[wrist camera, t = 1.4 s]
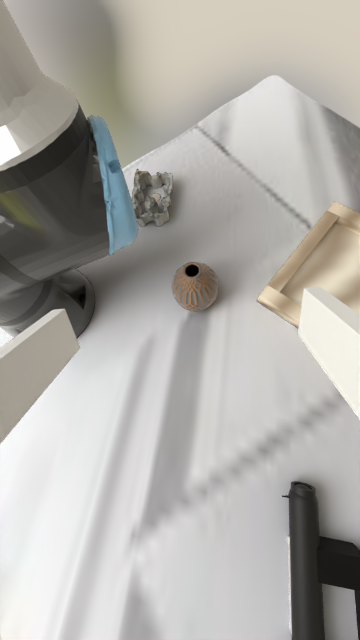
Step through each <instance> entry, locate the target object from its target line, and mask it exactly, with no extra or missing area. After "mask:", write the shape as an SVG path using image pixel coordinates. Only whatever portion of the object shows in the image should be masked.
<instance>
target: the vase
mask: <svg viewBox="0 0 360 640" xmlns="http://www.w3.org/2000/svg"><path fill="white" fill-rule="evenodd" d="M218 289H219V284H218V279H217V276H216V274H215V273H214V271H213V270H212V269H211V268H210V267H209V266H207V265H206V264H204V263H200V262H190V263H187V264H185V265H183V266H182V267H180V268H179V269H178V271H177V272H176V274H175V276H174V278H173V282H172V290H173V294H174V297H175V299H176V301H177V302H178V303H179V304H180V305H181V306H182V307H183V308H185V309H187V310H190V311H201V310H204V309H206V308H208V307H209V306H211V305H212V303H213V302H214V301H215V299H216V297H217V294H218Z"/></svg>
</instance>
